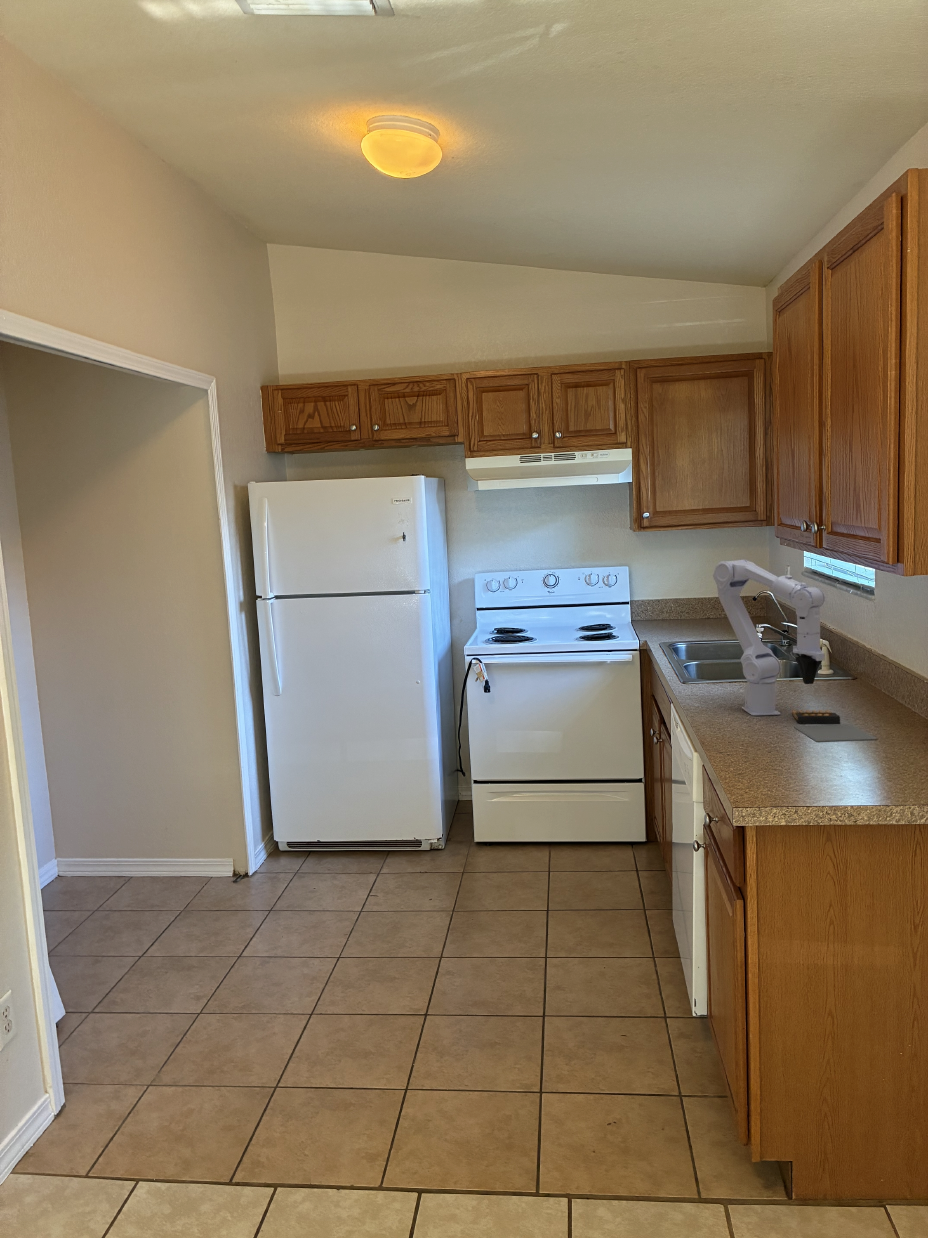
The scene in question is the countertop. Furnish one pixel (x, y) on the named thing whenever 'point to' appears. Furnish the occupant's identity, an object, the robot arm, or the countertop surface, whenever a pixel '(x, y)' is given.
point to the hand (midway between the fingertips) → (808, 683)
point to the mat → (834, 733)
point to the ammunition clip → (816, 717)
